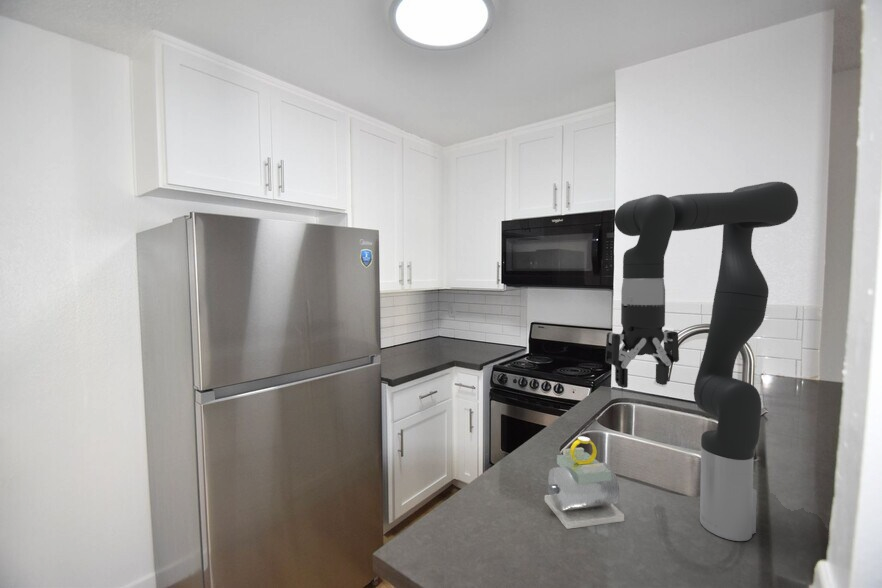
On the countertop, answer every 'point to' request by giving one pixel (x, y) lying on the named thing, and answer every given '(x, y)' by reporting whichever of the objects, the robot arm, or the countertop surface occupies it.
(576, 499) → the motor
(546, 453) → the countertop surface
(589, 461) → the yellow watch
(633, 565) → the countertop surface
